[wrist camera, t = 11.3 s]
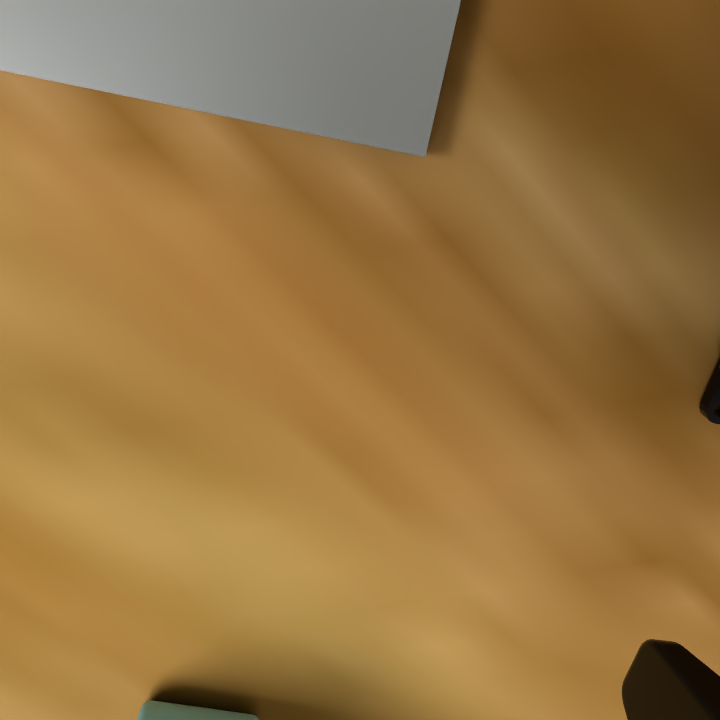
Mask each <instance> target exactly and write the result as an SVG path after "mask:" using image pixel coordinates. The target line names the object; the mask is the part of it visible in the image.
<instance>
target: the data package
mask: <svg viewBox="0 0 720 720" xmlns="http://www.w3.org/2000/svg"><path fill="white" fill-rule="evenodd" d="M138 720H259V719H258V717H257V716H255V715H253V714H246V713H238V712H231V711H224V710H217V709H210V708H203V707H195V706H188V705H181V704H174V703H167V702H160V701H152V700H149V701H147V702H145V703H144V704H143V706H142V708H141V710H140V713H139V717H138Z"/></svg>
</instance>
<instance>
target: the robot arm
mask: <svg viewBox="0 0 720 720" xmlns="http://www.w3.org/2000/svg"><path fill="white" fill-rule="evenodd" d="M718 404H720V359H719V362H718V364H717V367H716V369H715V371H714V373H713V376H712V378H711V380H710V382H709V384H708V387H707V389H706V391H705V393H704V395H703V398H702V400H701V402H700V406H699V408H700V412H701V413H702V414H703V416H705V417H706V418H707V419H708V420H709V421H710V422H713V423H715V424H720V408H719V409H718V410H716V411H714V408H715V407H716V406H717V405H718ZM622 699H623V704H624V708H625V712H626V715H627V719H628V720H720V676H719V675H717V674H716V673H715V672H714V671H712V670H711V669H710V668H709V667H707V666H706V665H705V664H704V663H703V662H701V661H700V660H699V659H698V658H696V657H695V656H694V655H693V654H691V653H690V652H689V651H688V650H687V649H685V648H684V647H683V646H681V645H680V644H678V643H676V642H672V641H663V640H654V639H650V640H646V641H645V642H644V643H642V645H641V646H640V648H639V650H638V652H637V654H636V656H635V658H634V660H633V662H632V664H631V666H630V668H629V671H628V673H627V675H626V677H625V679H624V681H623V686H622Z"/></svg>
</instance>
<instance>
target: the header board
mask: <svg viewBox="0 0 720 720" xmlns="http://www.w3.org/2000/svg"><path fill="white" fill-rule="evenodd" d="M460 2H461V0H0V70H2V71H7V72H11V73H16V74H21V75H26V76H31V77H36V78H41V79H46V80H50V81H55V82H60V83H65V84H70V85H75V86H80V87H85V88H90V89H94V90H99V91H104V92H109V93H114V94H119V95H124V96H129V97H134V98H138V99H143V100H148V101H153V102H158V103H163V104H168V105H173V106H178V107H182V108H187V109H192V110H197V111H202V112H207V113H212V114H217V115H222V116H226V117H231V118H236V119H241V120H246V121H251V122H256V123H261V124H265V125H270V126H275V127H280V128H285V129H290V130H295V131H300V132H305V133H309V134H314V135H319V136H324V137H329V138H334V139H339V140H344V141H349V142H353V143H358V144H363V145H368V146H373V147H378V148H383V149H388V150H393V151H397V152H402V153H407V154H412V155H417V156H422V157H425V156H426V152H427V147H428V143H429V138H430V134H431V130H432V125H433V121H434V117H435V112H436V108H437V103H438V99H439V95H440V90H441V86H442V81H443V77H444V73H445V68H446V64H447V59H448V55H449V51H450V46H451V42H452V37H453V33H454V29H455V24H456V20H457V16H458V11H459V7H460Z"/></svg>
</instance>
